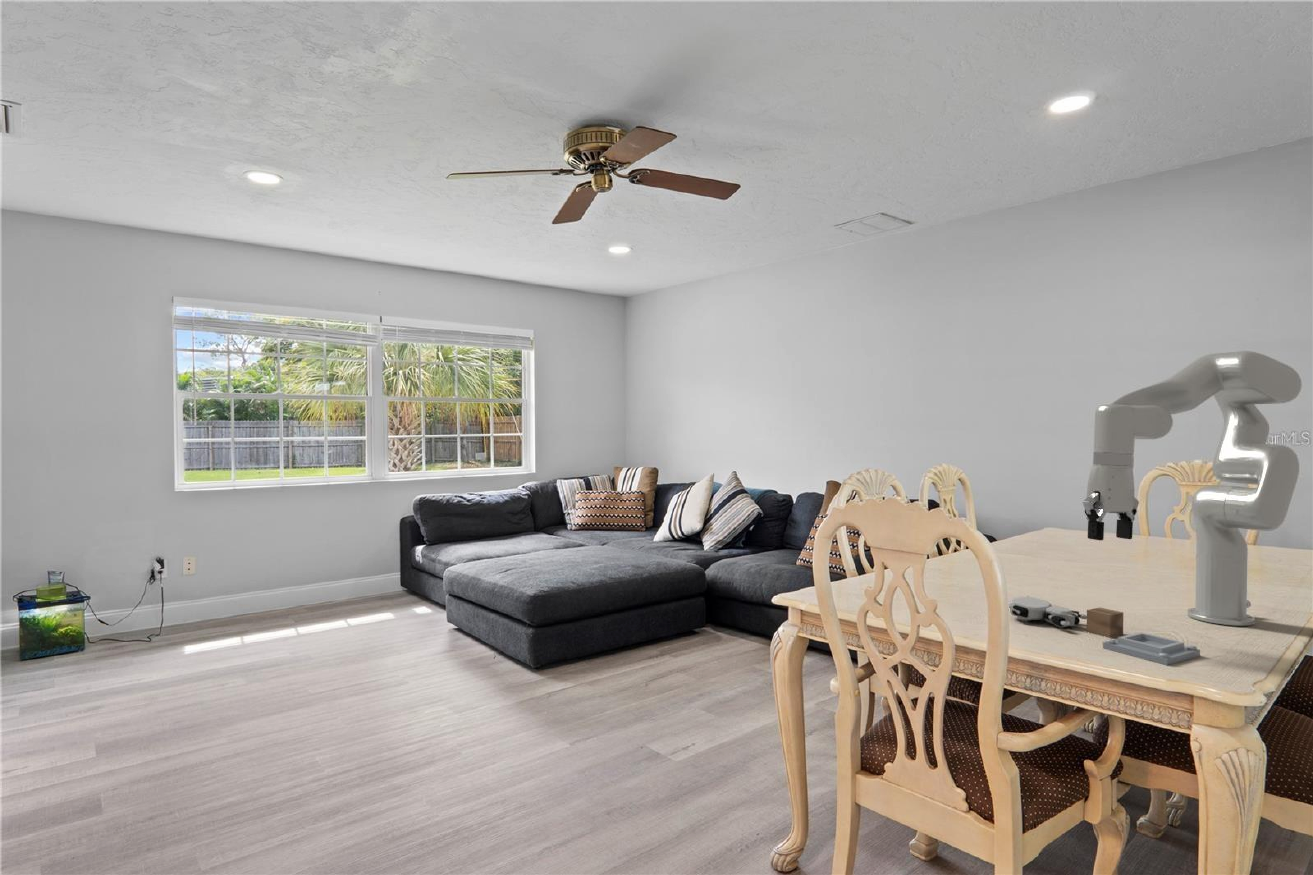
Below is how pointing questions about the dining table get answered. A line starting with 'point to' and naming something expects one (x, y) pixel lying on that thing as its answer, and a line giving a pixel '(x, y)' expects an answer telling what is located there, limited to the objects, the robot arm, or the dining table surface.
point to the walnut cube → (1105, 622)
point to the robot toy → (1043, 612)
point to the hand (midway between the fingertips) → (1109, 538)
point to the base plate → (1152, 648)
